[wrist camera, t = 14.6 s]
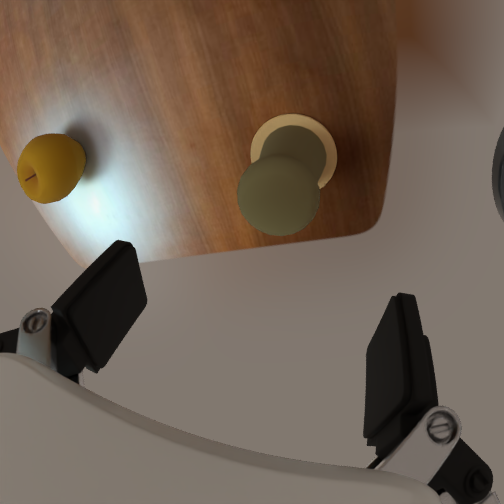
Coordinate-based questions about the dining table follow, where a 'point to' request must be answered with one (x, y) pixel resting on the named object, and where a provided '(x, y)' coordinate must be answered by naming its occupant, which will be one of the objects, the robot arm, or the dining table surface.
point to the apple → (50, 167)
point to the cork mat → (306, 123)
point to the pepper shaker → (283, 182)
